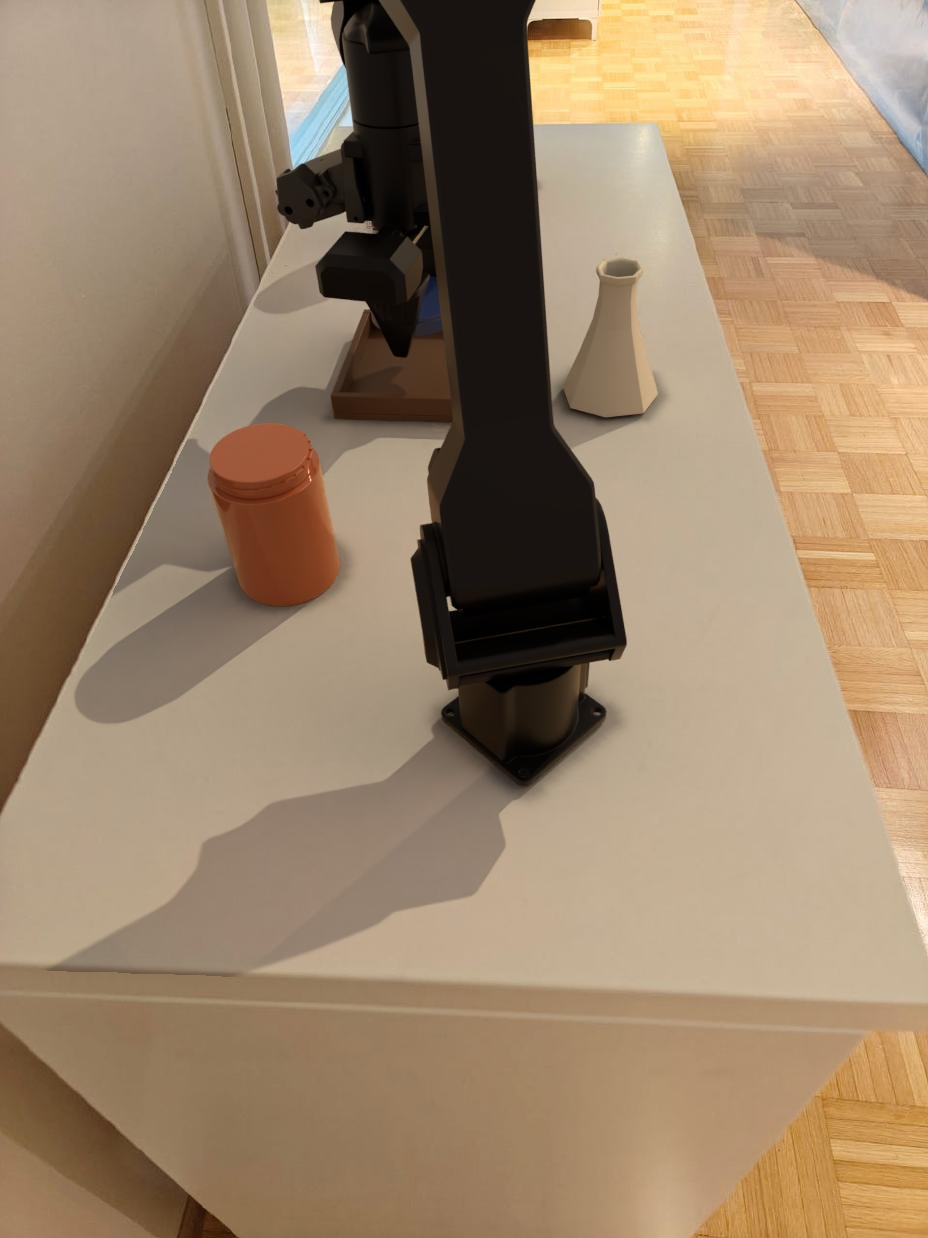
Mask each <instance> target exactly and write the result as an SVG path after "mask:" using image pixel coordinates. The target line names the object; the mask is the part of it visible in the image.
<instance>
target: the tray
mask: <svg viewBox="0 0 928 1238" xmlns="http://www.w3.org/2000/svg"><path fill="white" fill-rule="evenodd" d="M330 402H331V407H332V412H333V419H336V420H365V421H371V420H373V421H375V420H376V421H402V422H404V421H405V422H436V423H437V422H439V423H440V422H443V423H452V422H453V415H452V405H451V397H450V388H449V380H448V371H447V362H446V354H445V345H444V337H443V331H442V332H439V333H435V334H431V335H427V336H418V337H414V338H413V341H412V345H411V348H410V352H409V355H408V356H407V357H406V358H401V357H395V356H394V355H393V354H392V352H391V350H390V348H389V346H388V344H387V342H386V340H385V338H384V336H383V333H382V331H381V330H380V329H378V328H377V327H376V326H375V325H374V323H373V321H372V317H371V310H370V308H367V309H365V308H364V309H363V311H362V314H361V317H360V320H359V322H358V324H357V327H356V330H355V332H354V334H353V337H352V339H351V343H350V345H349V348H348V349H347V352H346V355H345V358H344V360H343V363H342V365H341V368H340V370H339V373H338V376H337V379H336V382H335V383H334V385H333V389H332V391H331V394H330Z"/></svg>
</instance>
